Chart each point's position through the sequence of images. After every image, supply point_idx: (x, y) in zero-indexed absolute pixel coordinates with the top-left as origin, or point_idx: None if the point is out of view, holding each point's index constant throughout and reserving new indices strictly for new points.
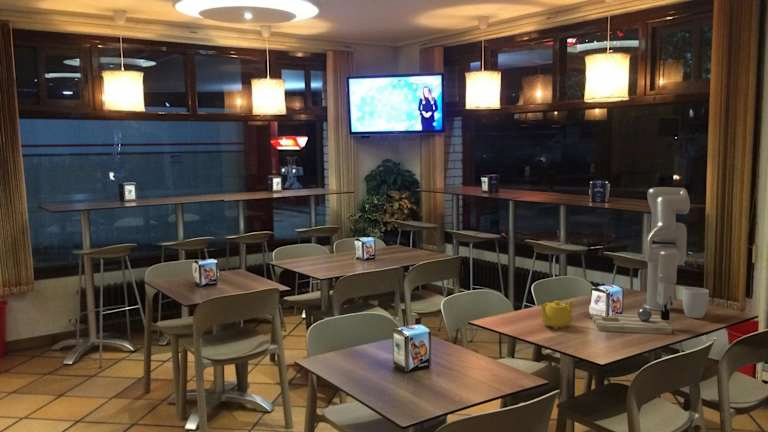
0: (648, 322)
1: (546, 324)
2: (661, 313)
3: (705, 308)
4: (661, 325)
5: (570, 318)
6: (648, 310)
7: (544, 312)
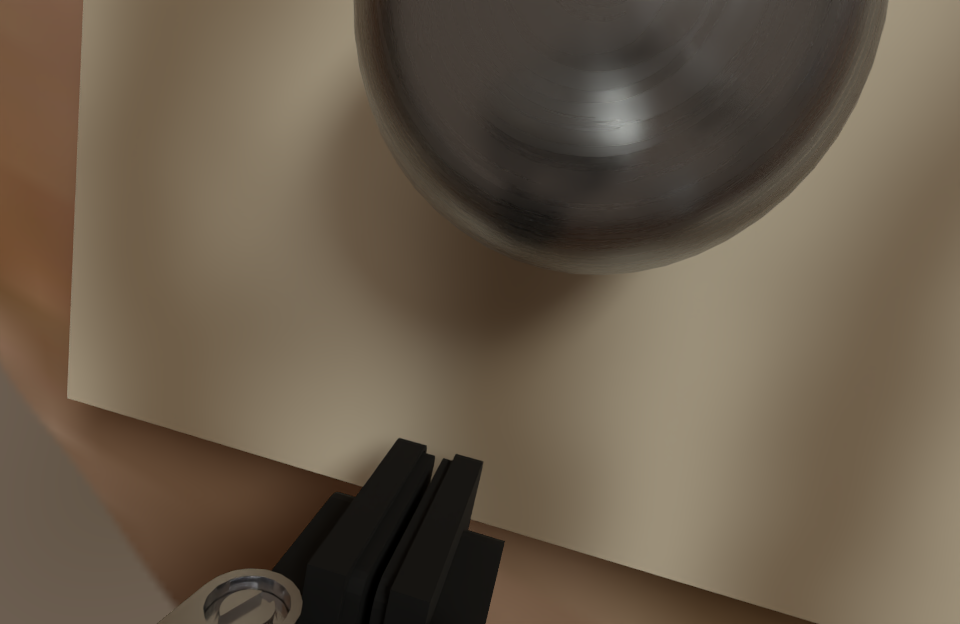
0: None
1: None
2: (419, 535)
3: None
4: (228, 301)
5: None
6: (409, 87)
7: None
